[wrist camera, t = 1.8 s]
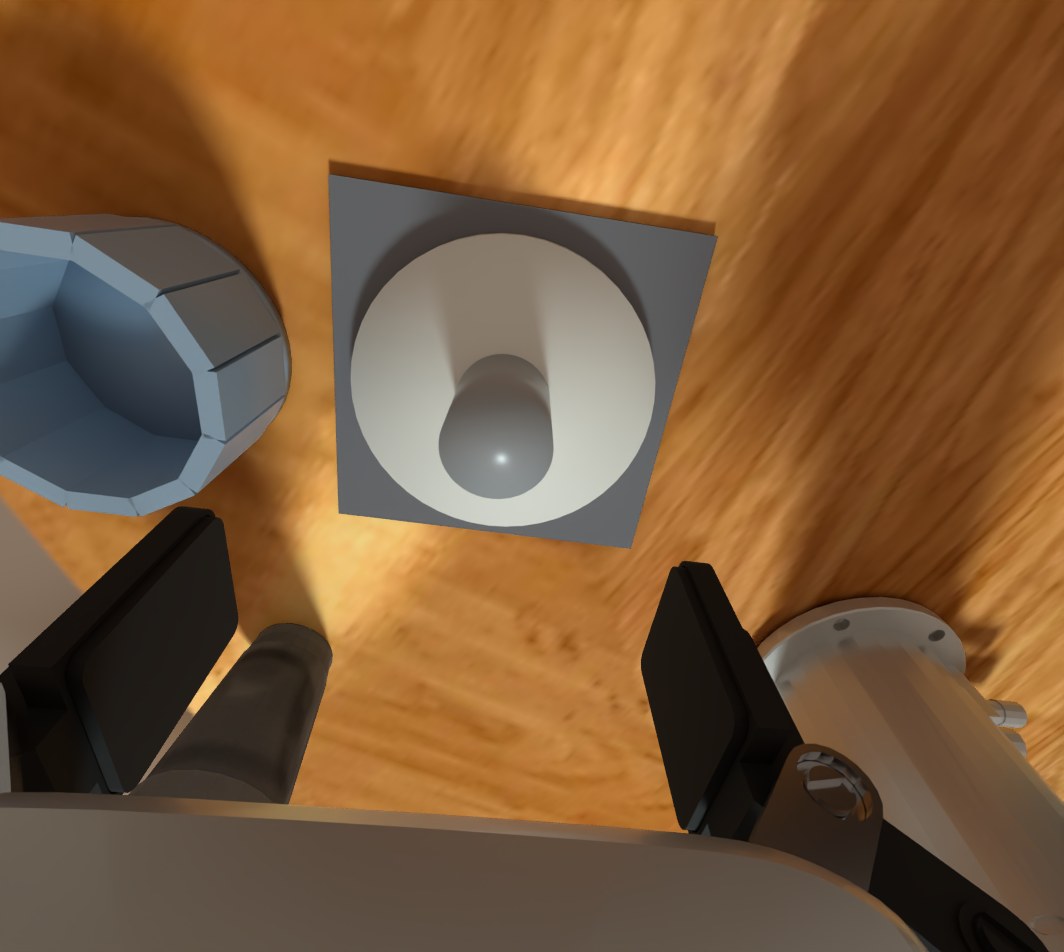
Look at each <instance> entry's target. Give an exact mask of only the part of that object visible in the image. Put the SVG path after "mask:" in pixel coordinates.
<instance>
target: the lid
mask: <svg viewBox="0 0 1064 952" xmlns="http://www.w3.org/2000/svg"><path fill="white" fill-rule="evenodd" d="M351 391H352V400H353V404H354V409H355V413H356V417H357V420H358V423H359V425H360V428H361V431H362V434H363V436H364V438H365V440H366V442H367V444H368V445H369V447H370V449H371V451H372V453H373V454H374V456H375V457H376V458H377V460H378V461H379V463H380V464H381V466H382V467H383V468H384V469H385V470H386V471H387V473H388V474H389V475H390V476H391V477H392V478H393V479H394V480H395V481H396V482H397V483H398V484H399V485H400V486H401V487H402V488H404V489H405V490H406V491H407V492H408V493H410V494H411V495H412V496H414V497H415V498H417V499H418V500H420V501H421V502H422V503H424V504H426V505H428V506H430V507H432V508H433V509H435V510H437V511H439V512H442V513H444V514H446V515H449V516H451V517H454V518H457V519H461V520H464V521H467V522H471V523H477V524H482V525H488V526H504V527H508V526H525V525H531V524H538V523H542V522H546V521H550V520H553V519H557V518H559V517H562V516H564V515H567V514H569V513H572V512H574V511H576V510H578V509H580V508H581V507H583V506H585V505H587V504H589V503H590V502H591V501H593V500H594V499H596V498H597V497H599V496H600V495H601V494H603V493H604V492H605V491H606V490H607V489H608V488H609V487H610V486H612V485H613V484H614V483H615V482H616V481H617V480H618V478H619V477H620V476H621V475H622V474H623V473H624V472H625V470H626V469H627V468H628V466H629V465H630V463H631V462H632V460H633V459H634V457H635V456H636V454H637V453H638V451H639V448H640V446H641V444H642V442H643V440H644V438H645V436H646V433H647V430H648V427H649V424H650V421H651V417H652V411H653V406H654V400H655V371H654V362H653V357H652V353H651V348H650V344H649V341H648V339H647V336H646V333H645V331H644V328H643V325H642V323H641V321H640V320H639V318H638V316H637V314H636V312H635V311H634V309H633V307H632V305H631V304H630V303H629V301H628V300H627V299H626V297H625V296H624V295H623V293H622V292H621V291H620V289H619V288H618V287H617V286H616V285H615V284H614V283H613V282H612V281H611V280H610V279H609V278H608V277H607V276H606V275H605V274H604V273H603V272H602V271H601V270H600V269H599V268H597V267H596V266H595V265H593V264H592V263H591V262H589V261H588V260H587V259H585V258H584V257H582V256H580V255H579V254H577V253H575V252H573V251H571V250H570V249H568V248H566V247H564V246H561V245H559V244H556V243H553V242H551V241H548V240H545V239H541V238H537V237H533V236H528V235H524V234H512V233H489V234H478V235H473V236H468V237H464V238H459V239H456V240H454V241H451V242H448V243H445V244H443V245H440V246H438V247H436V248H434V249H432V250H430V251H429V252H427V253H425V254H423V255H421V256H419V257H418V258H416V259H415V260H413V261H412V262H411V263H409V264H408V265H407V266H405V267H404V268H403V269H401V270H400V271H399V272H398V273H397V274H396V275H395V276H394V277H393V278H392V279H391V280H390V281H389V282H388V283H387V284H386V285H385V286H384V287H383V288H382V290H381V291H380V292H379V294H378V295H377V296H376V298H375V299H374V301H373V302H372V303H371V305H370V307H369V309H368V311H367V313H366V315H365V317H364V319H363V320H362V323H361V326H360V328H359V331H358V334H357V337H356V340H355V345H354V350H353V355H352V360H351Z"/></svg>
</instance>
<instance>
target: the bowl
mask: <svg viewBox="0 0 1064 952" xmlns="http://www.w3.org/2000/svg"><path fill="white" fill-rule="evenodd" d="M291 374H292V359H291V352H290V345H289V341H288V337H287V334H286V330H285V327H284V325H283V322H282V320H281V317H280V315H279V313H278V311H277V309H276V307H275V305H274V303H273V302H272V300H271V298H270V297H269V295H268V294H267V292H266V291H265V289H264V288H263V286H262V285H261V284H260V283H259V281H258V280H257V279H256V278H255V277H254V275H253V274H252V273H251V272H250V271H249V270H248V269H247V268H246V267H245V266H244V265H243V264H242V263H241V262H240V261H239V260H238V259H237V258H236V257H235V256H233V255H232V254H231V253H229V252H228V251H227V250H226V249H224V248H223V247H222V246H220V245H219V244H217V243H216V242H214V241H212V240H211V239H209V238H208V237H206V236H204V235H202V234H200V233H198V232H196V231H194V230H192V229H190V228H188V227H185V226H182V225H179V224H176V223H173V222H170V221H166V220H161V219H157V218H149V217H137V216H136V217H126V216H119V215H113V214H84V215H62V216H39V217H17V218H0V475H2V476H4V477H6V478H8V479H10V480H11V481H13V482H15V483H17V484H19V485H21V486H23V487H25V488H27V489H29V490H31V491H33V492H35V493H37V494H39V495H41V496H43V497H45V498H47V499H49V500H50V501H52V502H54V503H56V504H58V505H60V506H62V507H65V506H66V505H68V508H69V509H74V510H83V511H91V512H100V513H108V514H116V515H125V516H133V517H138V516H139V515H141V516H144V515H146V514H149V513H152V512H154V511H157V510H159V509H162V508H164V507H167V506H169V505H172V504H174V503H177V502H179V501H182V500H185V499H187V498H190V497H192V496H195V495H196V494H197V493H198V492H200V491H201V490H202V489H203V488H204V487H205V486H206V485H207V484H209V483H210V482H211V481H212V480H213V479H214V478H215V477H216V476H218V475H219V474H220V473H221V472H222V471H223V470H224V469H225V468H227V467H228V466H229V465H230V464H231V463H232V462H233V461H234V460H236V459H237V458H238V457H239V456H240V455H241V454H242V453H243V452H245V451H246V450H247V449H248V448H249V447H250V446H251V445H252V444H254V443H255V442H256V441H257V440H258V439H259V438H260V437H261V436H262V434H263V433H264V431H265V429H266V428H267V426H268V425H269V424H270V423H271V422H272V421H273V420H274V419H275V417H276V416H277V415H278V413H279V412H280V410H281V408H282V406H283V404H284V402H285V400H286V397H287V394H288V391H289V388H290V381H291Z"/></svg>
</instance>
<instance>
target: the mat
mask: <svg viewBox="0 0 1064 952" xmlns="http://www.w3.org/2000/svg"><path fill="white" fill-rule="evenodd" d="M329 206H330V239H331V272H332V306H333V339H334V372H335V405H336V439H337V472H338V505H339V513H341V514H349V515H357V516H366V517H374V518H382V519H390V520H399V521H407V522H415V523H423V524H432V525H440V526H448V527H456V528H465V529H473V530H481V531H489V532H497V533H506V534H514V535H522V536H530V537H539V538H547V539H555V540H563V541H572V542H580V543H588V544H596V545H605V546H613V547H621V548H629V549H631V546H632V542H633V539H634V535H635V531H636V528H637V524H638V521H639V517H640V513H641V510H642V506H643V503H644V499H645V496H646V492H647V488H648V485H649V481H650V478H651V474H652V470H653V467H654V463H655V460H656V456H657V453H658V449H659V445H660V442H661V438H662V435H663V431H664V428H665V424H666V420H667V417H668V413H669V410H670V406H671V402H672V399H673V395H674V392H675V388H676V385H677V381H678V377H679V374H680V370H681V367H682V363H683V359H684V356H685V352H686V349H687V345H688V342H689V338H690V334H691V331H692V327H693V324H694V320H695V317H696V313H697V309H698V306H699V302H700V299H701V295H702V291H703V288H704V284H705V281H706V277H707V274H708V270H709V266H710V263H711V259H712V256H713V252H714V248H715V245H716V241H717V238H718V237H717V236H712V235H706V234H700V233H694V232H687V231H681V230H675V229H669V228H663V227H656V226H650V225H644V224H638V223H631V222H625V221H619V220H613V219H606V218H600V217H594V216H588V215H581V214H575V213H569V212H563V211H556V210H550V209H544V208H538V207H532V206H525V205H519V204H513V203H507V202H500V201H494V200H488V199H482V198H475V197H469V196H463V195H457V194H450V193H444V192H438V191H432V190H425V189H419V188H413V187H407V186H401V185H394V184H388V183H382V182H376V181H369V180H363V179H357V178H351V177H344V176H338V175H332V174H329ZM489 233H512V234H524V235H528V236H533V237H537V238H541V239H545V240H548V241H551V242H553V243H556V244H559V245H561V246H564V247H566V248H568V249H570V250H571V251H573V252H575V253H577V254H579V255H580V256H582V257H584V258H585V259H587V260H588V261H589V262H591V263H592V264H593V265H595V266H596V267H597V268H599V269H600V270H601V271H602V272H603V273H604V274H605V275H606V276H607V277H608V278H609V279H610V280H611V281H612V282H613V283H614V284H615V285H616V286H617V287H618V288H619V289H620V291H621V292H622V293H623V295H624V296H625V297H626V299H627V300H628V301H629V303H630V304H631V305H632V307H633V309H634V311H635V312H636V314H637V316H638V318H639V320H640V321H641V323H642V325H643V328H644V331H645V333H646V336H647V339H648V341H649V344H650V348H651V353H652V357H653V362H654V371H655V400H654V406H653V411H652V417H651V421H650V424H649V427H648V430H647V433H646V436H645V438H644V440H643V442H642V444H641V446H640V448H639V451H638V453H637V454H636V456H635V457H634V459H633V460H632V462H631V463H630V465H629V466H628V468H627V469H626V470H625V472H624V473H623V474H622V475H621V476H620V477H619V478H618V480H617V481H616V482H615V483H614V484H613V485H612V486H610V487H609V488H608V489H607V490H606V491H605V492H604V493H603V494H601V495H600V496H599V497H597V498H596V499H594V500H593V501H591V502H590V503H589V504H587V505H585V506H583V507H581V508H580V509H578V510H576V511H574V512H572V513H569V514H567V515H564V516H562V517H559V518H557V519H553V520H550V521H546V522H542V523H538V524H531V525H525V526H508V527H504V526H488V525H482V524H477V523H471V522H467V521H464V520H461V519H457V518H454V517H451V516H449V515H446V514H444V513H442V512H439V511H437V510H435V509H433V508H432V507H430V506H428V505H426V504H424V503H422V502H421V501H420V500H418V499H417V498H415V497H414V496H412V495H411V494H410V493H408V492H407V491H406V490H405V489H404V488H402V487H401V486H400V485H399V484H398V483H397V482H396V481H395V480H394V479H393V478H392V477H391V476H390V475H389V474H388V473H387V471H386V470H385V469H384V468H383V467H382V466H381V464H380V463H379V461H378V460H377V458H376V457H375V456H374V454H373V453H372V451H371V449H370V447H369V445H368V444H367V442H366V440H365V438H364V436H363V434H362V431H361V428H360V425H359V423H358V420H357V417H356V413H355V409H354V404H353V400H352V391H351V360H352V355H353V350H354V345H355V340H356V337H357V334H358V331H359V328H360V326H361V323H362V320H363V319H364V317H365V315H366V313H367V311H368V309H369V307H370V305H371V303H372V302H373V301H374V299H375V298H376V296H377V295H378V294H379V292H380V291H381V290H382V288H383V287H384V286H385V285H386V284H387V283H388V282H389V281H390V280H391V279H392V278H393V277H394V276H395V275H396V274H397V273H398V272H399V271H400V270H401V269H403V268H404V267H405V266H407V265H408V264H409V263H411V262H412V261H413V260H415V259H416V258H418V257H419V256H421V255H423V254H425V253H427V252H429V251H430V250H432V249H434V248H436V247H438V246H440V245H443V244H445V243H448V242H451V241H454V240H456V239H459V238H464V237H468V236H473V235H478V234H489Z"/></svg>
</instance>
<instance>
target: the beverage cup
mask: <svg viewBox="0 0 1064 952" xmlns="http://www.w3.org/2000/svg"><path fill="white" fill-rule="evenodd" d="M332 656H333V654H332V651H331V648H330V646H329V644H328V643H327V642H326V640H325V639H324V638H323V637H322V636H320V635H319V634H318V633H317V632H315V631H313V630H311V629H309V628H307V627H304V626H301V625H296V624H277V625H273V626H270V627H268V628H266V629H265V630H264V631H262V632H261V633H260V634H259V636H258V638H257V639H256V640H255V641H254V642H253V643H252V645H251V646H250V647H249V648H248V649H247V650H246V651H244V653H243V654H242V655H241V657H240V658H239V659H238V660H237V662H236V663H235V664H234V666H233V667H232V668H231V670H230V671H229V672H228V673H227V675H226V676H225V677H224V679H223V680H222V681H221V682H220V684H219V685H218V686H217V688H216V689H215V690H214V691H213V693H212V694H211V695H210V697H209V698H208V699H207V700H206V702H205V703H204V704H203V706H202V707H201V708H200V710H199V711H198V712H197V713H196V715H195V716H194V717H193V719H192V720H191V721H190V723H189V724H188V725H187V726H186V728H185V729H184V730H183V732H182V733H181V734H180V735H179V737H178V738H177V739H176V741H175V742H174V743H173V745H172V746H171V747H170V748H169V750H168V751H167V752H166V753H165V755H164V756H163V757H162V759H161V760H160V761H159V763H158V764H157V765H156V766H155V768H154V769H153V770H152V772H151V773H150V774H149V775H148V777H147V778H146V779H145V780H144V781H143V782H141V783H140V784H138V785H137V786H136V787H135V788H134V789H133V790H132V791H131V792H130V794H129V795H132V796H155V797H172V798H189V799H205V800H222V801H238V802H254V803H271V804H287V805H288V804H289V801H290V798H291V794H292V791H293V788H294V785H295V782H296V779H297V775H298V772H299V769H300V766H301V763H302V760H303V756H304V753H305V750H306V747H307V744H308V740H309V737H310V734H311V731H312V728H313V725H314V721H315V718H316V715H317V712H318V709H319V706H320V702H321V699H322V696H323V693H324V690H325V686H326V681H327V676H328V671H329V668H330V666H331V663H332Z"/></svg>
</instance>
